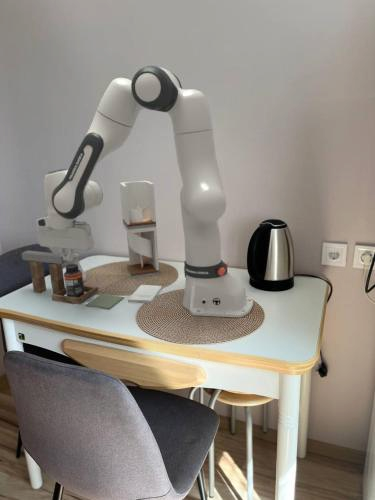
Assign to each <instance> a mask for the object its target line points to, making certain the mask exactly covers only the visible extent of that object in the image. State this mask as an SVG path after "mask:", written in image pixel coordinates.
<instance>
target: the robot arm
mask: <svg viewBox="0 0 375 500" xmlns="http://www.w3.org/2000/svg"><path fill="white" fill-rule="evenodd" d="M145 109H147V110H149V111H156V112H162V113H167V114H168V115H169V117H170V119H171V125H172V131H173V139H174V145H175V147H174V148H175V152H176V153H175V154H176V159H177V164H178V168H179V173H180V178H181V181H182V187H181V189H180V191H179V198H180V199H179V201H180V210H181V211H180V212H181V220H182V227H183V235H184V236H183V237H184V251H185V253H184V254H185V255H184V257H185V259H184V265H183V268H184V269H183V272H184V277H185V286H184V293H183V298H182V302H181V303H182V307H183V308H185V309H186V310H188V311H189V313H190V314H191V315H192V316H199V317H200V316H202V317H203V316H204V317H222V318H223V317H225V318H243V317H244V316H247V315H248V314H249V313H250V312H251V311H252V310H253V307H254V300H253V298H252V297H251V296H247V292H246V288H245V285H244V284H243V282H241V281H240V280H238V279H237V278H236V277H234V276H233V275H232V274H230V273H229V272H228V266H229V262H228V261H227V262H226V263H225V262H224V261H223V260H222V240H221V239H222V238H221V233H220V227H219V223H218V222H219V219H221V217H223V215H224V214H225V212H226V209H227V198H226V196H225V193H224V187H223V183H222V178H221V173H220V169H219V165H218V161H217V155H216V146H215V139H214V138H215V137H214V130H213V122H212V116H211V112H210V107H209V105H208V101H207V97H206V96H205V94H204V93H203V92H202V91H200V90H198V89H192V88H189V89H183V87H182V84H181V81H180V79H179V78H178V77H177V75H176V74H175V73H172V72H170V70H167V69H166V68H165V67H160V66H156V65H146V66H144V67H141V68H140V69H138V70H137V71H136V73H135V74H134V76H133V78H132V79H128V78H126V77H125V78H124V77H116V78H114V79H113V80H112V81H111V82H110V83H109V85H108V87H107V88H106V90H105V91H104V94H103V95H102V97H101V99H100V101H99V105H98V106H97V108H96V111H95V114H94V117H93V119H92V121H91V124H90V127H89V128H88V130H87V132H86V134H85V136H84V137H83V139H82V142H81V143H80V144H79V146H78V147H77V148H78V149H77V151H76V153H75V155H74V157H73V159H72V161H71V164H70V165H69V167H68V169H67V168H63V169H58V170H52V171H49V172H47V173H45V176H44V180H43V186H44V187H43V189H44V198H45V201H46V204H47V210H46V212H47V215H46V216H44V217H41V218H38V219H36V221H35V224H36V227H37V228H36V237H37V243H38V244H39V246H40V247H45V248H52V249H53V248H55V249H57V250H58V252H59V254H61V255H62V258H63V261H67V262H72V260H73V256H72V255H74V253H75V251H83V252H84V251H85V252H87V251H90V250H92V249H93V248H94V246H95V242H94V237H93V234H92V228H91V225H90V224H89V223H88V222H86V221H80V220H78V219H77V218H78V217H79V216H81V215H82V214H85V213H88V212H90V211H92V210H94V209H96V208H97V207H99V206H100V205H101V203H102V201H103V198H104V194H103V190H102V187H101V186H100V184H98V182H96V181H94V180H92V176H93V173H94V172H95V170H96V168H97V166H98V164H99V163H100V162H101V161H102V160H103V159H104V158H106V156H108V155H110V154H111V153H113V152H115V151H117V150H118V149H120V148H121V147H123V146H124V144H125V143H126V141H127V139H128V138H129V137H130V135H131V133H132V131H133V127H134V126H135V123H136V121H137V120H136V119H137V118H138V116H139V114H140V113H141V111H143V110H145ZM66 251H67V252H68V254H67V252H66Z"/></svg>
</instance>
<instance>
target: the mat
mask: <svg viewBox="0 0 375 500" xmlns="http://www.w3.org/2000/svg"><path fill="white" fill-rule="evenodd" d="M124 299H125V297H124V296H120V295H112V294H104V293H101V294H99V295H97V296H96V297H95V298H93V299H91V300H90V301H88V302H87V303H86V304H85V306H86V307H90V308H97V309H103V310H111V309H113V308H114V307H115V306H116V305H117V304H119V303H120V302H121V301H123V300H124Z"/></svg>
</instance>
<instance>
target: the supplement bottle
mask: <svg viewBox="0 0 375 500" xmlns="http://www.w3.org/2000/svg"><path fill="white" fill-rule="evenodd" d="M63 276H64V284H65V287H66V293H67V294H66V296H69V297H76V298H78V297H80V296H82V295H83V294H85V293H86V292H84V285H85V284H84V282H83V277H82V272H81V271H80V270H79V269H78V265H77V264H72V263H69V264H67V265H65V272H63Z"/></svg>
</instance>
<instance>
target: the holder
mask: <svg viewBox="0 0 375 500" xmlns="http://www.w3.org/2000/svg"><path fill="white" fill-rule="evenodd" d="M28 264H29V269H30V274H31V283H32V287H33V293H37V294H42V293H44V292H46V291H47V284H46V279H45V278H46V277H45V271H44V266H43V262H38V261H29V260H28ZM48 268H49V276H50V281H51V282H50V283H51V287H52V288H51V289H52V294H51V300H52V302H57V303H58V302H59V303H65V304H71V305H77V306H80V305H81V304H83V303H85V302H86V301H88V300H89V299H90V298H92V297H94V296H96V295H97V294H98V293H99V291H100V290H99V287H98V286H95V285H94V286H93V285H88V284H87V285H86V284H83V285H84V293H85V294H83V295H82V296H80V297H78V298H76V297H69V296H67V293H66V287H65V280H64V272H63V264H57V263H48Z"/></svg>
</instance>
